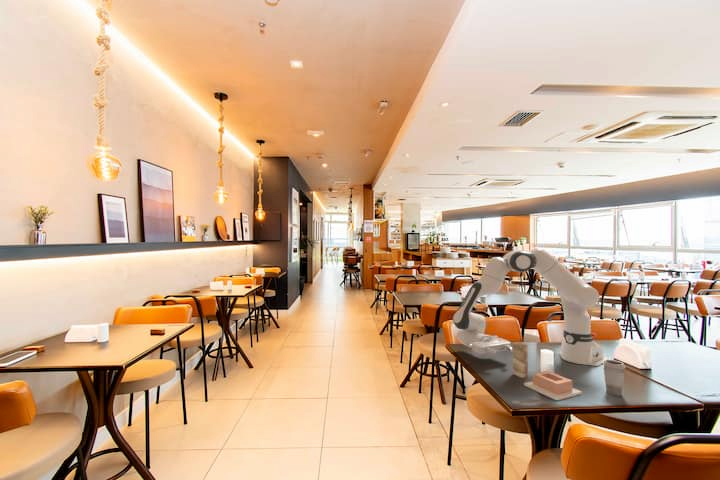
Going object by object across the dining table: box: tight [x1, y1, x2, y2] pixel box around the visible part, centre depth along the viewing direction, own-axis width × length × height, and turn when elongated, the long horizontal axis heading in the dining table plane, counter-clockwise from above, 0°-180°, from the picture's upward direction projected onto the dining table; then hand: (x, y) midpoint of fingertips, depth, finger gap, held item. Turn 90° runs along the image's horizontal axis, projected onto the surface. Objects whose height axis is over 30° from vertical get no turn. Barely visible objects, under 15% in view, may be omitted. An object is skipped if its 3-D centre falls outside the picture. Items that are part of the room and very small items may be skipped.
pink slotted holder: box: [523, 370, 583, 401], centre depth 128 cm, size 14×14×5 cm
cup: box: [601, 359, 626, 397], centre depth 125 cm, size 7×7×12 cm
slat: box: [512, 341, 529, 379], centre depth 142 cm, size 3×5×14 cm, turn 23°
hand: (504, 351), depth 150 cm, fingers open, 8 cm apart
